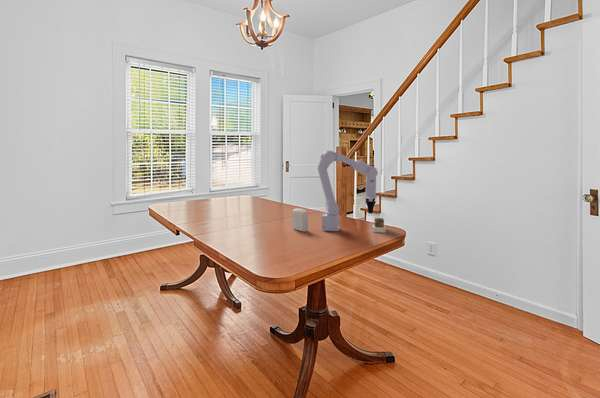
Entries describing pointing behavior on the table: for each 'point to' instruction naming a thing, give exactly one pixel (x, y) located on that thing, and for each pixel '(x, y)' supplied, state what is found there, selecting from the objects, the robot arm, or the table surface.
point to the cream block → (378, 229)
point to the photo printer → (300, 219)
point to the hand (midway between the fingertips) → (370, 212)
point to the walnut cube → (379, 222)
